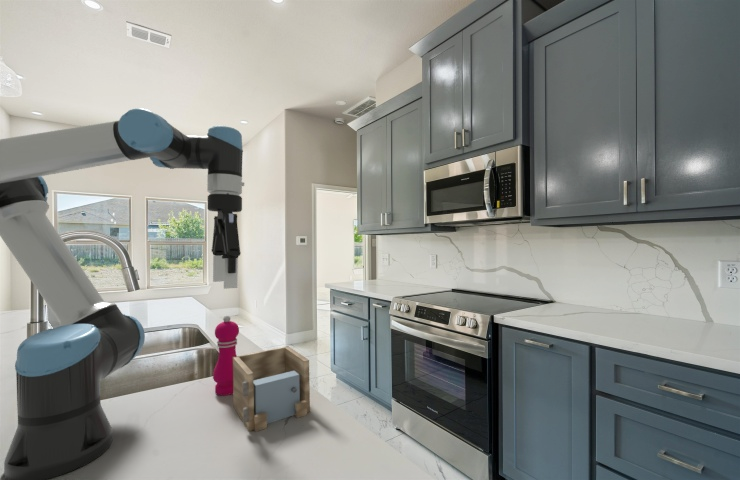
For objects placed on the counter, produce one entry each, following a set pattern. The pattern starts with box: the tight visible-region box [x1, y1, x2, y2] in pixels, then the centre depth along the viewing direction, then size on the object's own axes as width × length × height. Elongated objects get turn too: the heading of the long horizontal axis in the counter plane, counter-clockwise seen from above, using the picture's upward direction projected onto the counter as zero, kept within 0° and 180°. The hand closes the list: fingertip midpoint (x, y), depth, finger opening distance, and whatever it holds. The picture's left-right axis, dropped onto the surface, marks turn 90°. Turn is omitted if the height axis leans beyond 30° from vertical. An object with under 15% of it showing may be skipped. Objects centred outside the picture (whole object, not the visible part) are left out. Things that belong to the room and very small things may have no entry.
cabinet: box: [232, 346, 311, 432], centre depth 81 cm, size 15×14×12 cm
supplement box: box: [46, 303, 60, 329], centre depth 157 cm, size 9×9×15 cm
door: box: [253, 371, 300, 425], centre depth 78 cm, size 10×4×9 cm, turn 125°
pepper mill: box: [212, 315, 240, 396], centre depth 92 cm, size 7×7×20 cm
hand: (224, 284), depth 82 cm, fingers open, 13 cm apart
